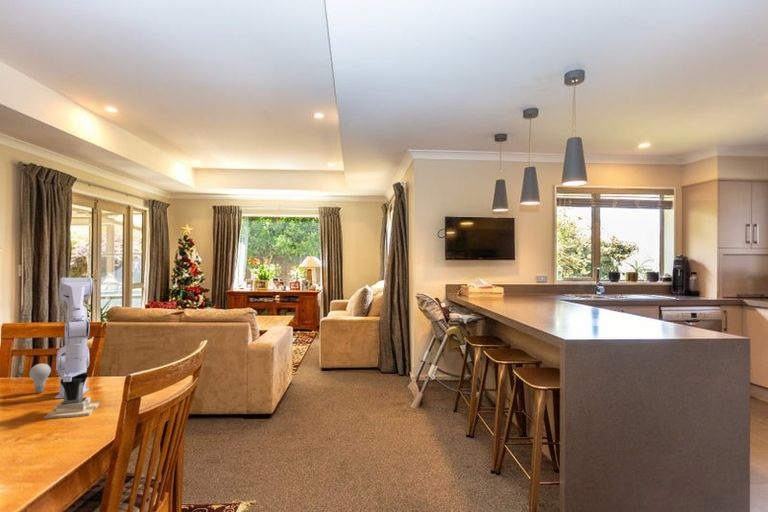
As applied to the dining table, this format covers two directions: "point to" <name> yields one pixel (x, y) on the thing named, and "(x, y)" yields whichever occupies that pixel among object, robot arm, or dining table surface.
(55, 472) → the dining table surface
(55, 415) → the holder box
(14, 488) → the dining table surface
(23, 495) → the dining table surface
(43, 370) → the lightbulb
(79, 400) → the plug
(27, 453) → the dining table surface
